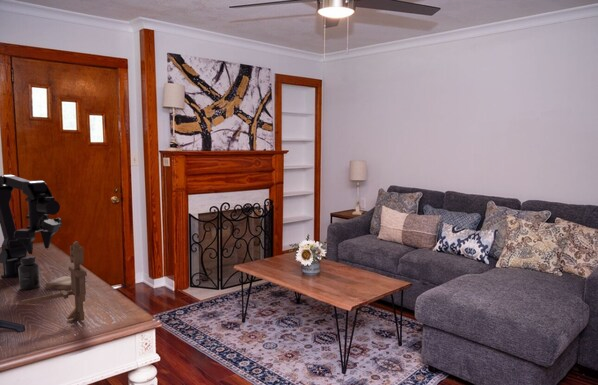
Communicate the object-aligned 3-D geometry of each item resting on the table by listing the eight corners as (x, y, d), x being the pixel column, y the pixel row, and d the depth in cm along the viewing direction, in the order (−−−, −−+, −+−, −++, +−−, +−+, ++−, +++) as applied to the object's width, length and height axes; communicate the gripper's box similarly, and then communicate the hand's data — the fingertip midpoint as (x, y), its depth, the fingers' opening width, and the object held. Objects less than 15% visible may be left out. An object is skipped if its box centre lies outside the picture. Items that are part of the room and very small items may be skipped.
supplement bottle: (44, 286, 171) (42, 256, 169) (27, 291, 165) (25, 260, 163) (32, 283, 174) (30, 254, 172) (15, 288, 167) (13, 258, 166)
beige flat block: (45, 290, 168) (45, 283, 167) (62, 282, 177) (62, 275, 177) (69, 291, 166) (69, 284, 166) (85, 283, 176) (85, 276, 176)
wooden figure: (22, 324, 134) (16, 245, 131) (84, 310, 146) (80, 237, 143) (30, 340, 123) (25, 253, 121) (97, 323, 135) (93, 244, 132)
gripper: (39, 217, 163) (41, 258, 164) (70, 209, 181) (72, 246, 183) (11, 216, 164) (14, 256, 166) (46, 209, 182) (47, 245, 184)
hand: (39, 251), depth 175 cm, fingers open, 9 cm apart
